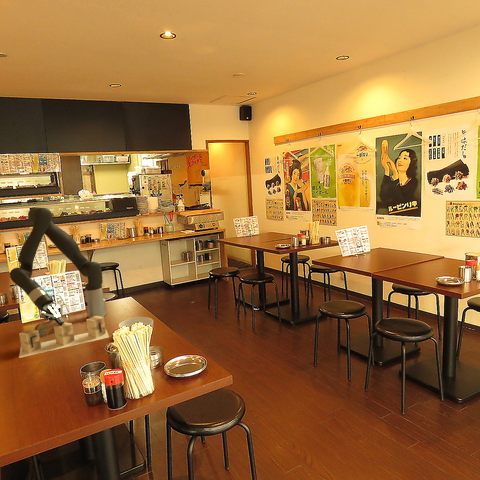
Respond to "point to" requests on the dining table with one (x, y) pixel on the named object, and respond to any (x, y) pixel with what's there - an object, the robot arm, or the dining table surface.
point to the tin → (46, 328)
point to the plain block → (64, 333)
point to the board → (53, 346)
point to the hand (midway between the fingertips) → (62, 323)
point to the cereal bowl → (134, 320)
